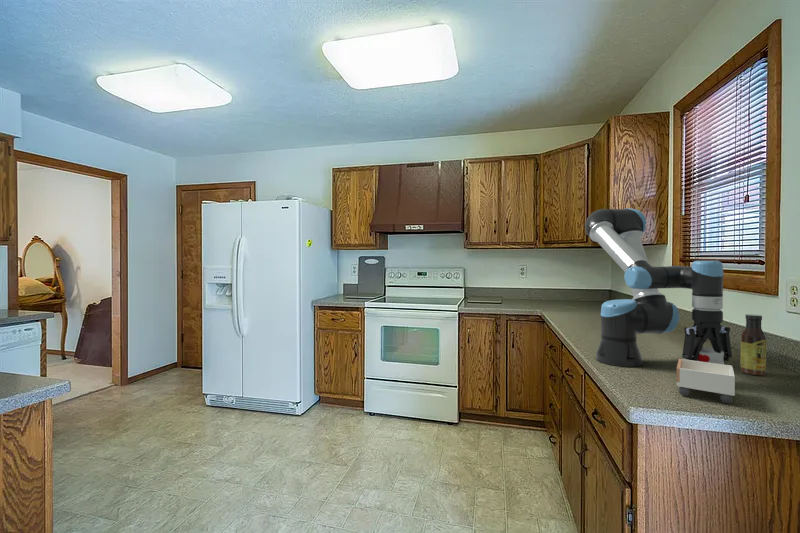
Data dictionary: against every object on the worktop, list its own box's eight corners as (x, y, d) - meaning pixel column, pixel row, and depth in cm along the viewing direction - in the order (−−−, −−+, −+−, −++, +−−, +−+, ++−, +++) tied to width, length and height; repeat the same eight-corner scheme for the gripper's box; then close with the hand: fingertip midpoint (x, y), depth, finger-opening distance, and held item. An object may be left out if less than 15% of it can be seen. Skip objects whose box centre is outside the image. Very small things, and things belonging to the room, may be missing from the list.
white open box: (676, 394, 106) (676, 368, 106) (678, 382, 116) (679, 358, 115) (734, 404, 98) (734, 376, 98) (731, 391, 108) (732, 365, 107)
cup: (684, 377, 121) (684, 347, 121) (706, 376, 122) (707, 346, 121) (706, 386, 113) (706, 353, 113) (730, 384, 114) (731, 352, 113)
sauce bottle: (761, 377, 120) (761, 317, 119) (736, 372, 125) (737, 314, 125) (769, 374, 123) (770, 315, 122) (745, 369, 128) (745, 312, 128)
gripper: (687, 311, 112) (687, 386, 113) (748, 309, 114) (748, 382, 114) (667, 308, 119) (667, 378, 120) (725, 306, 121) (724, 375, 122)
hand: (706, 380), depth 117 cm, fingers closed on cup, 8 cm apart
